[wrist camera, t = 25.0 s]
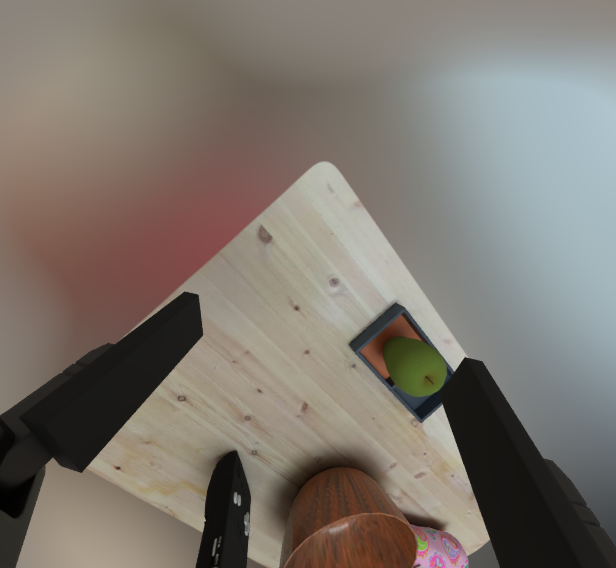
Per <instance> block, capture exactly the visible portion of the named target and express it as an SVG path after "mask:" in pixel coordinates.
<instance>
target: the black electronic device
mask: <svg viewBox="0 0 616 568" xmlns="http://www.w3.org/2000/svg"><path fill="white" fill-rule="evenodd" d="M250 504H251V496H250V492H249V487H248V484H247V480H246V477H245V474H244V471H243V467H242V464H241V461H240V459H239V456H238V454H237V452H234V453H230V454H227V456H224V457H223V458H222V459H221V460H220V461H219V462H218V463H217V465H216V467H215V469H214V471H213V474H212V477H211V480H210V483H209V486H208V490H207V496H206V503H205V519H206V521H205V522H204V524H205V526H204V531H203V535H202V540H201V545H200V549H199V554H198V559H197V563H196V568H246V566H247V552H248V539H249V532H250V524H249V523H250Z"/></svg>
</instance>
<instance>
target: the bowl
mask: <svg viewBox="0 0 616 568" xmlns="http://www.w3.org/2000/svg"><path fill="white" fill-rule="evenodd" d="M417 554H418V541H417V537H416V533H415V532H414V530H413V529H412V527H411V526H410V524H409V523H408V521H407V520H406V518H405V517H404V516H403V514H402V513H401V511H400V510H399V509H398V507H397V506H396V505H395V503H394V502H393V501H392V499H391V498H390V497H389V495H388V494H387V493H386V492H385V491H384V489H383V488H382V487H381V486H380V485H379V484H378V483H377V482H376V481H375V480H374V479H372V478H371V477H370V476H368V475H366V474H365V473H363V472H362V471H360V470H357V469H354V468H350V467H336V468H331V469H328V470H325V471H323V472H320V473H318V474H317V475H315V476H314V477H312V478H311V479H310V480H309V481H308V482H307V483H306V484H305V485H304V486H303V487H302V488H301V489H300V491H299V493H298V494H297V496H296V498H295V499H294V501H293V504H292V507H291V510H290V513H289V517H288V520H287V524H286V528H285V533H284V538H283V544H282V551H281V558H280V567H279V568H413V567H414V564H415V562H416V559H417Z"/></svg>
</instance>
